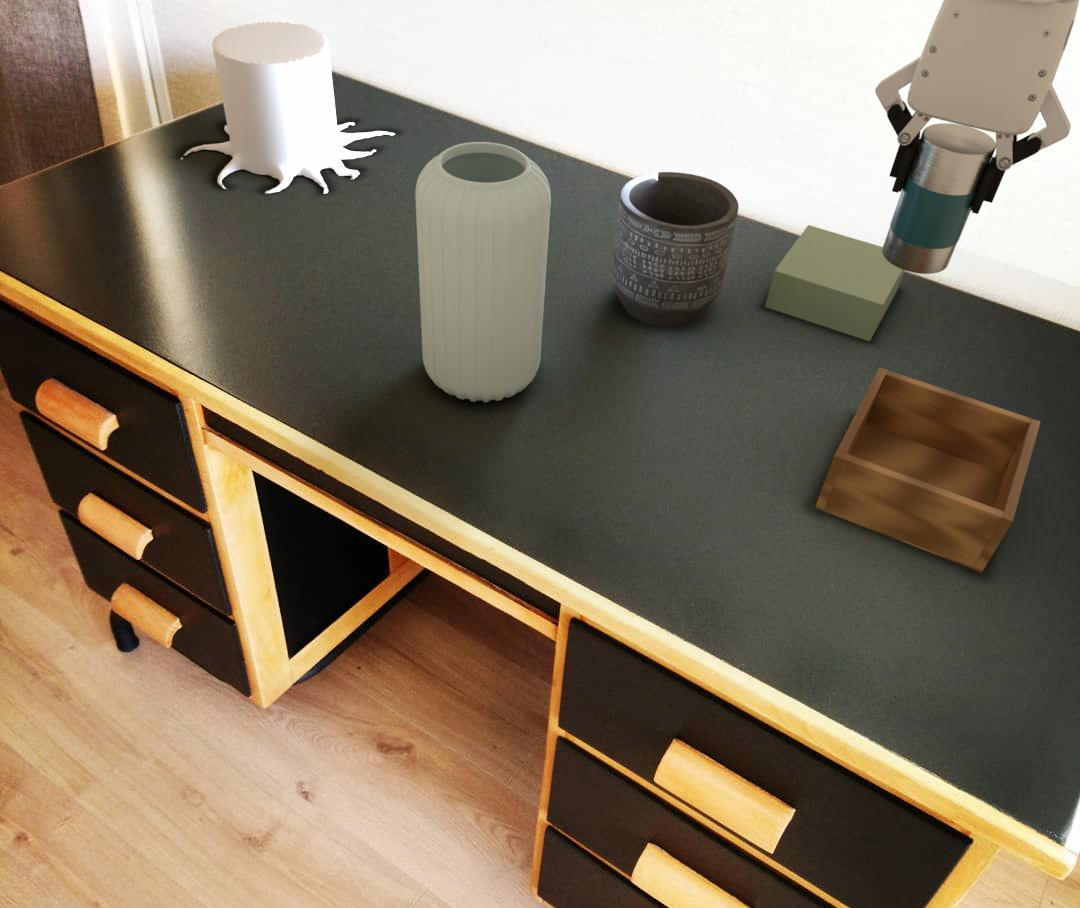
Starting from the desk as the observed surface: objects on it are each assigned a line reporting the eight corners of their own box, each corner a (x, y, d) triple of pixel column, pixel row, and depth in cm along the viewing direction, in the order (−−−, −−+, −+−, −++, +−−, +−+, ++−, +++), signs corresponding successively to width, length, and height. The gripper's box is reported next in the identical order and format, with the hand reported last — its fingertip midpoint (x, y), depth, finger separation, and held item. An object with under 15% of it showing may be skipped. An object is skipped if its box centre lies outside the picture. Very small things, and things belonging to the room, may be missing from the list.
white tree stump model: (304, 215, 114) (288, 98, 104) (145, 165, 121) (115, 50, 110) (412, 139, 130) (406, 31, 120) (265, 98, 136) (249, -7, 126)
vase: (508, 335, 99) (516, 124, 83) (558, 398, 92) (577, 181, 76) (406, 360, 95) (393, 143, 79) (450, 427, 88) (446, 205, 72)
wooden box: (1009, 475, 88) (1040, 421, 83) (979, 575, 79) (1013, 521, 74) (858, 421, 92) (879, 367, 87) (813, 510, 83) (834, 455, 78)
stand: (895, 294, 109) (910, 255, 105) (868, 344, 101) (883, 304, 98) (797, 263, 112) (808, 224, 109) (763, 310, 105) (774, 270, 101)
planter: (718, 286, 108) (742, 179, 99) (712, 346, 100) (736, 236, 90) (614, 271, 109) (627, 164, 100) (599, 329, 101) (612, 218, 91)
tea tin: (954, 251, 87) (1002, 134, 79) (941, 281, 84) (990, 161, 76) (889, 233, 89) (930, 116, 81) (874, 262, 85) (915, 142, 77)
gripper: (1153, -26, 69) (1045, 205, 82) (918, -68, 74) (852, 155, 87) (1146, 2, 64) (1033, 242, 77) (896, -46, 69) (830, 187, 82)
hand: (938, 194), depth 82 cm, fingers closed on tea tin, 6 cm apart
